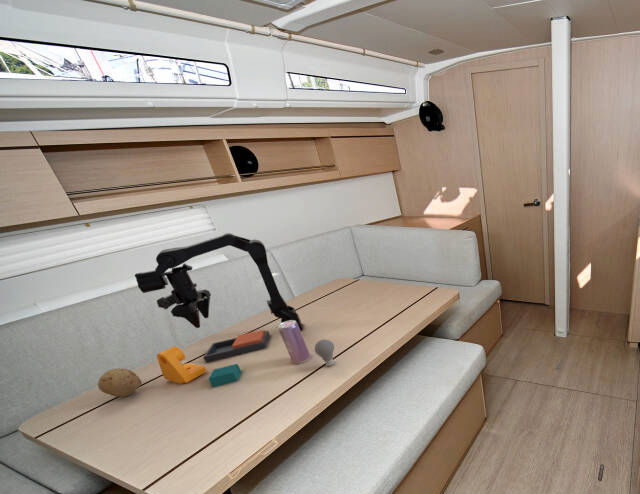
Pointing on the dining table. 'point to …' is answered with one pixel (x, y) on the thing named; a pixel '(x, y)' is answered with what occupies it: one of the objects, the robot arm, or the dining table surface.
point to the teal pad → (225, 375)
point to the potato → (119, 382)
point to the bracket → (178, 366)
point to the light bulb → (325, 351)
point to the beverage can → (294, 341)
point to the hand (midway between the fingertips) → (202, 322)
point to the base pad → (248, 339)
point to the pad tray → (226, 349)
